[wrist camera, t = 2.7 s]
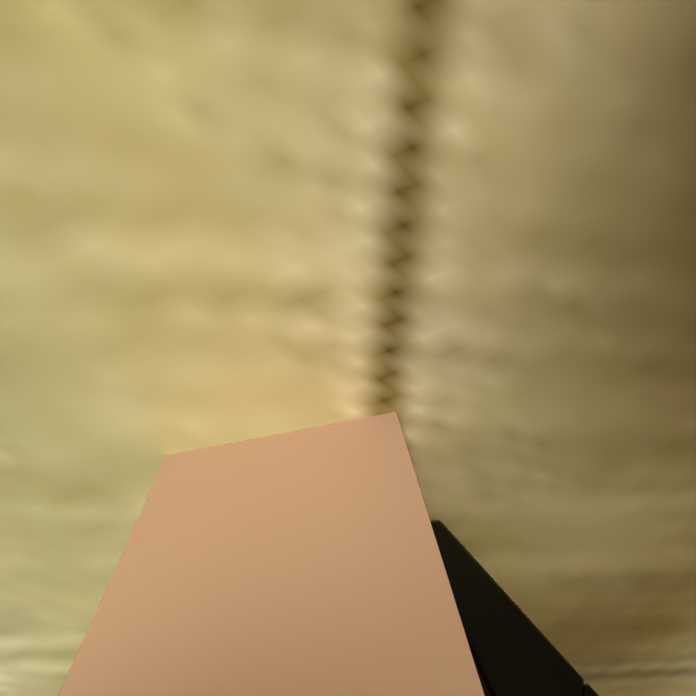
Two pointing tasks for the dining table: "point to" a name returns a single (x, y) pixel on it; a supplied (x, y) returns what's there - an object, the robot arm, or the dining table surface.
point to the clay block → (281, 577)
